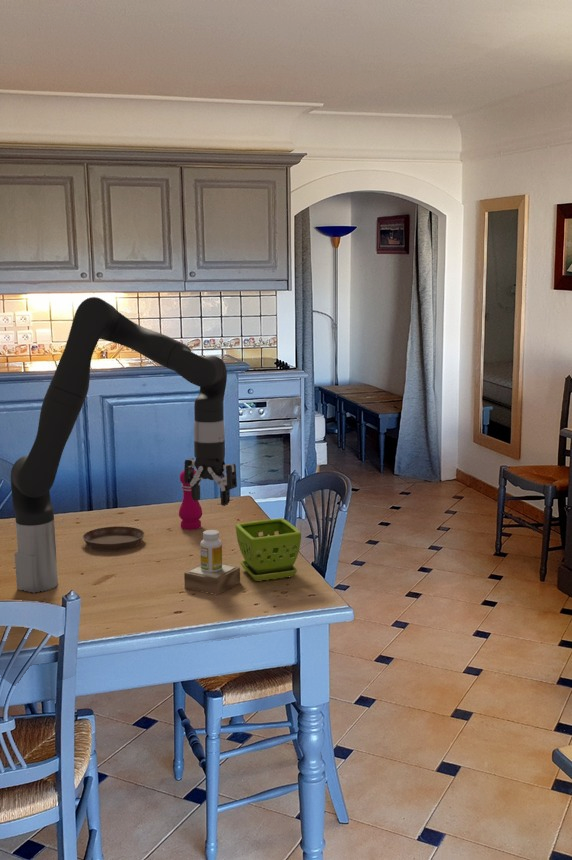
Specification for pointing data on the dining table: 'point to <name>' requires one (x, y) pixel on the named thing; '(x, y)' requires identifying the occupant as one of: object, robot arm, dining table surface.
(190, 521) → the pepper mill
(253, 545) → the flower pot
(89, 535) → the plant saucer
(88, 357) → the robot arm
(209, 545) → the supplement bottle
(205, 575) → the pedestal
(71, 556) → the dining table surface
